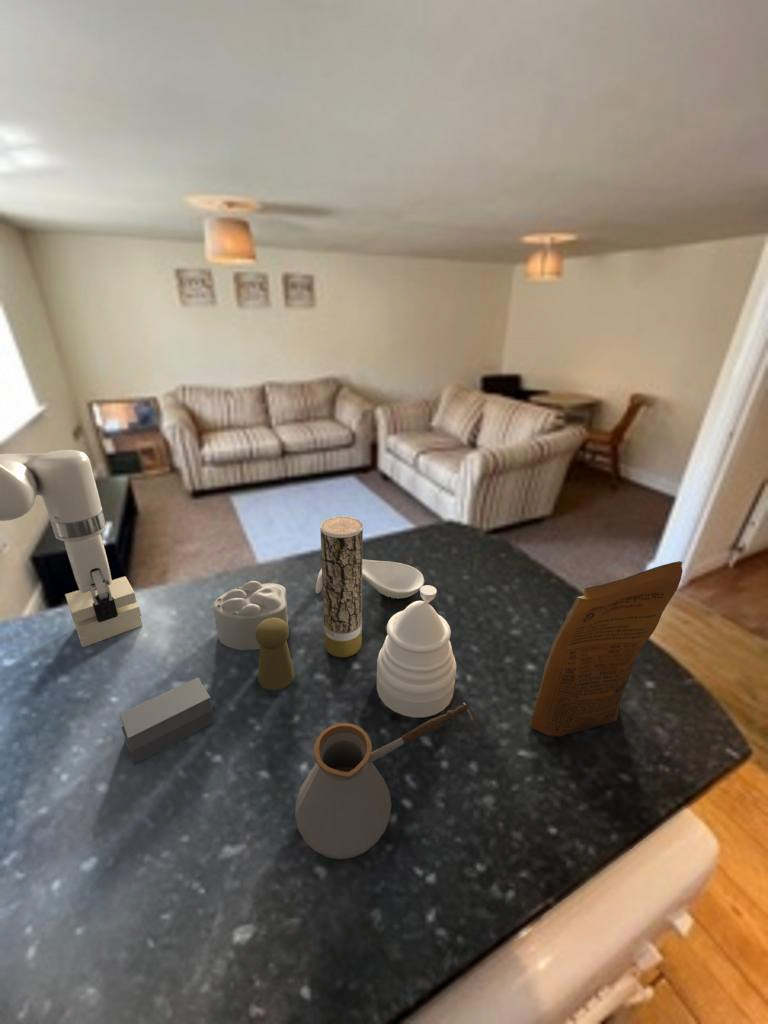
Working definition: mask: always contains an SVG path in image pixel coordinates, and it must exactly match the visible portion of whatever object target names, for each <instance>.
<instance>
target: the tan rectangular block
mask: <svg viewBox="0 0 768 1024" xmlns="http://www.w3.org/2000/svg"><path fill="white" fill-rule="evenodd" d="M139 605H140V604H139V603H138V602H136V603H133V604H130V605H127V606H124V607H121V608H118V609H117V613H118V616H117V617H115V618H112V619H109V620H106V621H103V622H98V620H97V617H96V616H94V617H91V618H88V619H85V620H82V621H79V622H76V623H74V622H73V624H74V627H75V631H76V633H77V636H78V639H79V642H80V645H81V648H85V647H89V646H92V645H94V644H96V643H99V642H101V641H104V640H107V639H110V638H112V637H116V636H118V635H121V634H124V633H127V632H129V631H131V630H134V629H137V628H140V627H142V626H143V620H142V612H141V609H140V606H139Z"/></svg>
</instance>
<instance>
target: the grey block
mask: <svg viewBox="0 0 768 1024" xmlns="http://www.w3.org/2000/svg"><path fill="white" fill-rule="evenodd" d="M119 718H120V722H121V724H122V726H121V730H122V733H123V737H124V740H125V743H126V746H127V748H128V751H129V754H130V757H131V760H132V763H133V765H137V764H138V763H140V762H143V760H146V759H148V758H149V757H152V756H153V755H156V754H157V753H159V752H161V751H163V750H164V749H167V748H168V747H170V746H172V745H174V744H176V743H178V742H180V741H181V740H183V739H185V738H187V737H189V736H192V734H195V733H196V732H199V731H201V730H202V729H204V728H207V727H208V726H210V725H211V724H214V723H215V716H214V711H213V705H212V700H211V696H210V695H209V693H208V692H207V689H206V688H205V686H204V685H203V683H202V681H201V679H200V678H199V677H195V678H193V679H191V680H189V681H187V682H185V683H182V684H180V685H178V686H176V687H174V688H171V689H169V690H167V691H165V692H162V693H160V694H159V695H156V696H154V697H152V698H150V699H147V700H145V701H143V702H141V703H139V704H137V705H134V706H133V707H130V708H129V709H126V710H124V711H122V712H119Z"/></svg>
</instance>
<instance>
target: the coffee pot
mask: <svg viewBox="0 0 768 1024" xmlns="http://www.w3.org/2000/svg"><path fill="white" fill-rule="evenodd" d="M466 712H467V714H468V716H469V717H470V719H471V721H474V717H473V715H472V713H471V711H470V708H469V706H468V704H467V703H465V702H463V703H462V705H459V706H457V707H456V709H454V710H451V709H448V710H447V711H446V713H445V714H442V715H439V716H437V717H433V718H430V719H428V720H427V721H425V722H423V723H422V724H420V725H418V726H416V727H415V728H414V729H412V730H410V731H409V732H407V733H405V734H403V735H401V737H399V738H397V739H395V740H393V741H391V742H389V743H387V744H385V745H383V746H381V747H379V748H377V749H375V750H373V745H372V741H371V739H370V736H369V735H368V733H367V732H366V731H365V730H364V729H363V728H361V727H360V726H358V725H357V724H354V723H349V722H340V723H336V724H331V725H330V726H328V727H327V728H325V729H323V731H321V733H319V735H318V737H317V738H316V739H315V742H314V746H313V757H314V760H315V764H314V766H313V767H312V769H311V770H310V772H309V773H308V775H307V777H306V778H305V780H304V782H303V783H302V785H301V786H300V788H299V791H298V793H297V797H296V800H295V811H294V812H295V813H294V818H295V822H296V826H297V830H298V832H299V834H300V835H301V837H302V839H303V840H304V842H305V843H306V844H307V845H308V846H309V847H310V848H311V849H312V850H313V851H314V852H316V853H318V854H320V855H322V856H323V857H325V858H328V859H335V860H347V859H352V858H356V857H357V856H358V857H359V856H360V855H361V854H364V853H366V852H367V851H368V850H369V849H371V848H372V847H373V846H374V845H376V844H377V843H378V842H379V840H380V839H381V838H382V836H383V834H384V833H385V832H386V830H387V826H388V824H389V821H390V819H391V813H392V798H391V793H390V790H389V787H388V785H387V782H386V780H385V779H384V778H383V776H382V774H381V772H380V771H379V770H378V769H377V767H376V766H375V765H374V763H373V762H374V761H376V760H378V759H380V758H382V757H383V756H385V755H387V754H388V753H391V752H392V751H394V750H396V749H398V748H399V747H402V746H403V745H406V744H408V743H410V742H413V741H415V740H417V739H419V738H421V737H424V736H426V735H428V734H430V733H432V732H434V731H437V730H438V729H439V728H440V727H442V726H443V725H444V724H446V723H447V722H449V721H452V722H453V721H454V720H455V719H456V717H458V716H459V715H463V714H464V713H466Z"/></svg>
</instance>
